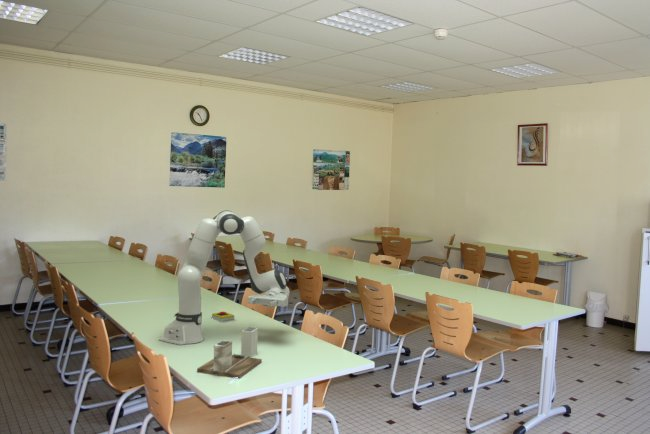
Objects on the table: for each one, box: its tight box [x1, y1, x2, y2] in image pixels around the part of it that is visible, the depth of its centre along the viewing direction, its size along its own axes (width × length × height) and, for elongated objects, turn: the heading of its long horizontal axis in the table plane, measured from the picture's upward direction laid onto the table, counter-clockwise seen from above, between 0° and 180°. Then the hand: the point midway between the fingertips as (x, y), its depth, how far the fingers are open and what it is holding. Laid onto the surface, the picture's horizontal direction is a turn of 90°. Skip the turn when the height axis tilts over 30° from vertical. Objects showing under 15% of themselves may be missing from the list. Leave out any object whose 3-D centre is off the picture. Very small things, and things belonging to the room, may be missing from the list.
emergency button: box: [210, 311, 237, 324], centre depth 319 cm, size 9×4×15 cm
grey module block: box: [240, 326, 259, 358], centre depth 255 cm, size 5×7×12 cm
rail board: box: [196, 340, 263, 379], centre depth 237 cm, size 20×22×13 cm
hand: (261, 303), depth 265 cm, fingers open, 8 cm apart
